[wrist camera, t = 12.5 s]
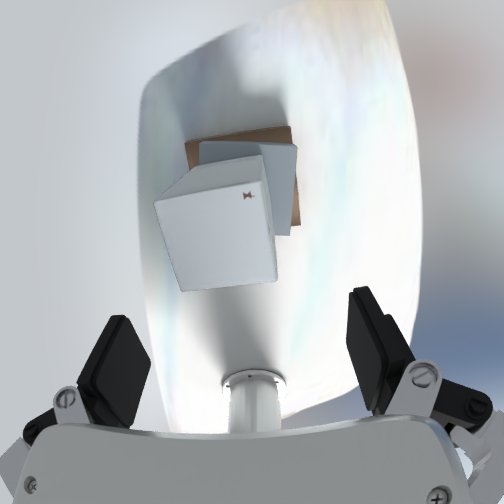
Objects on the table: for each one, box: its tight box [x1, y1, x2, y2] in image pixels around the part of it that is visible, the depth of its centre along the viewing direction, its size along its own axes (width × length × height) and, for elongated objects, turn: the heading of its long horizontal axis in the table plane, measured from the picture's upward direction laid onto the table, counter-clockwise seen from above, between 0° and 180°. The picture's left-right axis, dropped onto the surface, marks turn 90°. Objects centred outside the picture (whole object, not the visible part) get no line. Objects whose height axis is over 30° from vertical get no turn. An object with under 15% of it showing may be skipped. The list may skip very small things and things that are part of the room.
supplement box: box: [154, 155, 278, 292], centre depth 24 cm, size 7×7×13 cm
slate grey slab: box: [199, 141, 297, 236], centre depth 31 cm, size 10×10×3 cm
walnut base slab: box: [185, 126, 301, 226], centre depth 34 cm, size 12×12×3 cm
